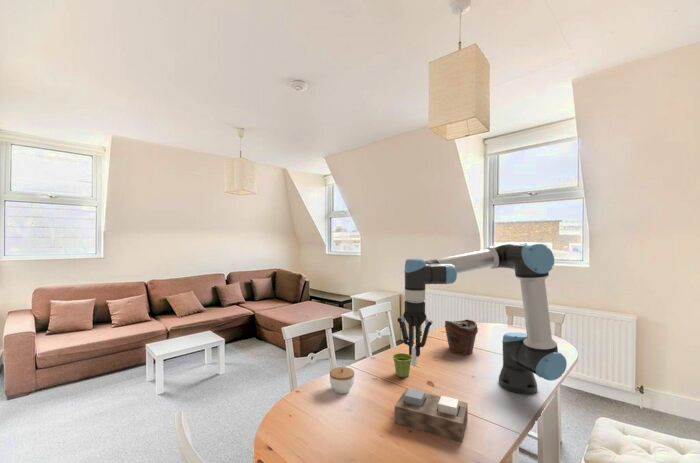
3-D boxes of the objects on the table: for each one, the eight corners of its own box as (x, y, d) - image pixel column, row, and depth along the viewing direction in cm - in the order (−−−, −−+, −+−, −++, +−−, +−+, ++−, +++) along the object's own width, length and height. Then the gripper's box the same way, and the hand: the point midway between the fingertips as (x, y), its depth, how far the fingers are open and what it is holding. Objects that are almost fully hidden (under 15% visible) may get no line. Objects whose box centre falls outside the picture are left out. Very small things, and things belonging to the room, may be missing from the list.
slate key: (425, 402, 116) (425, 391, 116) (421, 410, 110) (421, 399, 110) (409, 398, 118) (409, 388, 118) (404, 406, 113) (404, 395, 113)
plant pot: (412, 380, 143) (412, 361, 143) (391, 378, 145) (391, 359, 145) (412, 371, 152) (412, 353, 152) (393, 369, 154) (393, 352, 154)
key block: (467, 419, 113) (467, 402, 113) (462, 442, 100) (462, 423, 100) (406, 403, 123) (406, 388, 123) (394, 422, 111) (394, 405, 111)
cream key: (458, 410, 110) (458, 399, 110) (456, 419, 105) (456, 407, 105) (441, 406, 113) (441, 395, 113) (438, 415, 108) (438, 403, 108)
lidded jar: (357, 386, 137) (357, 365, 137) (349, 398, 127) (349, 375, 127) (335, 382, 141) (335, 361, 141) (325, 393, 131) (325, 371, 131)
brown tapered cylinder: (481, 348, 184) (480, 317, 184) (474, 359, 167) (473, 326, 167) (450, 342, 193) (449, 314, 193) (441, 353, 176) (440, 321, 177)
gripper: (434, 300, 115) (434, 364, 115) (401, 297, 121) (400, 357, 121) (430, 304, 108) (430, 371, 108) (394, 300, 114) (394, 364, 114)
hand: (414, 364), depth 114 cm, fingers closed
